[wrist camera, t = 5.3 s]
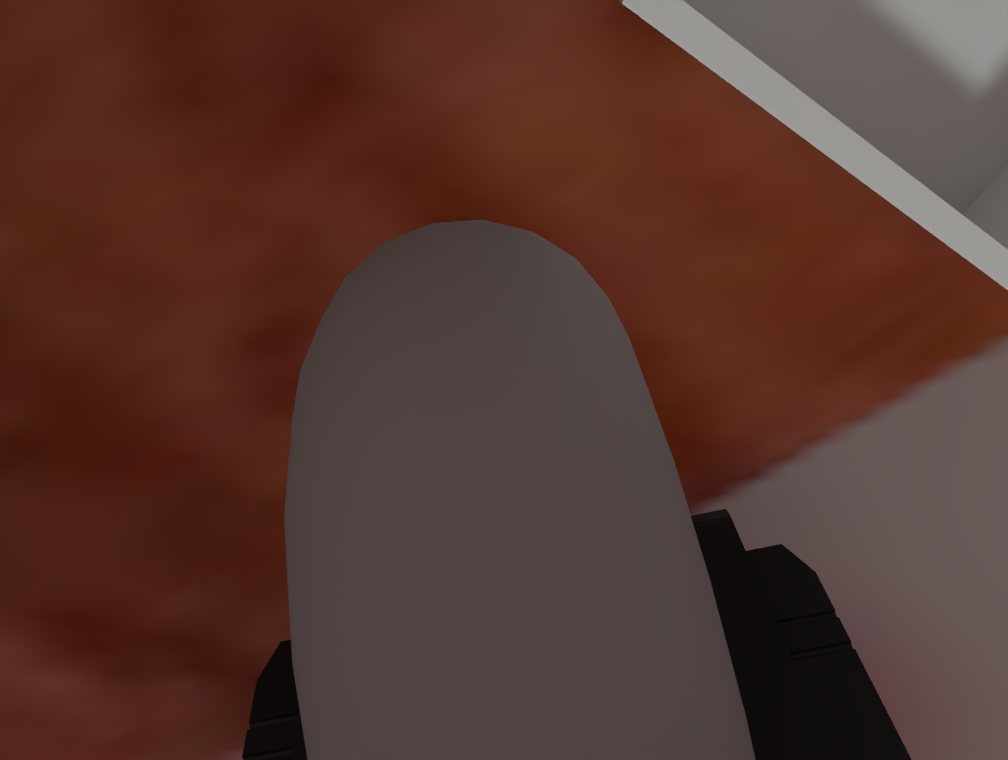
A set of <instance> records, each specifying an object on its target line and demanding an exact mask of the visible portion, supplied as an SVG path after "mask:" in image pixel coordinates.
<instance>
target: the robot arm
mask: <svg viewBox="0 0 1008 760" xmlns="http://www.w3.org/2000/svg"><path fill="white" fill-rule="evenodd" d="M691 519H692V522H693V525H694V529H695V532H696V535H697V539H698V542H699V545H700V548H701V552H702V555H703V558H704V561H705V565H706V568H707V571H708V575H709V578H710V581H711V585H712V589H713V593H714V597H715V600H716V604H717V608H718V612H719V616H720V619H721V623H722V627H723V631H724V635H725V638H726V642H727V646H728V650H729V654H730V657H731V661H732V665H733V669H734V673H735V676H736V680H737V684H738V688H739V692H740V695H741V699H742V703H743V707H744V711H745V714H746V719H747V723H748V728H749V732H750V737H751V741H752V746H753V751H754V755H755V760H911V758H910V756H909V754H908V752H907V750H906V748H905V746H904V744H903V742H902V740H901V738H900V736H899V735H898V733H897V730H896V729H895V727H894V725H893V723H892V721H891V719H890V717H889V715H888V713H887V711H886V709H885V707H884V705H883V703H882V701H881V699H880V697H879V695H878V693H877V691H876V689H875V687H874V686H873V683H872V682H871V680H870V678H869V676H868V674H867V672H866V670H865V668H864V666H863V664H862V662H861V660H860V658H859V656H858V654H857V652H856V650H855V649H853V648H852V645H851V640H850V638H849V637H848V635H847V633H846V631H845V629H844V627H843V625H842V623H841V621H840V619H839V618H838V617H837V616H836V614H835V609H834V607H833V605H832V603H831V601H830V599H829V597H828V595H827V594H826V591H825V590H824V588H823V586H822V584H821V582H820V580H819V578H818V576H817V574H816V572H814V571H813V570H812V569H811V568H810V567H809V566H807V565H806V564H805V563H804V562H803V561H801V560H800V559H799V558H798V557H796V556H795V555H794V554H793V553H792V552H790V551H789V550H788V549H787V548H786V547H784V546H783V545H782V544H780V545H775V546H769V547H765V548H759V549H754V550H749V551H745V549H744V546H743V544H742V542H741V540H740V537H739V535H738V533H737V530H736V528H735V526H734V523H733V521H732V519H731V517H730V515H729V513H728V511H727V510H725V509H723V510H718V511H713V512H708V513H703V514H698V515H693V516H691ZM249 723H250V730H247V734H246V740H245V745H244V750H243V755H242V757H243V760H307V753H306V747H305V741H304V734H303V728H302V722H301V715H300V709H299V703H298V696H297V690H296V683H295V677H294V671H293V664H292V649H291V640H287V641H282V642H280V644H279V646H278V647H277V649H276V650H275V652H274V654H273V655H272V657H271V659H270V660H269V662H268V663H267V665H266V667H265V668H264V670H263V672H262V673H261V675H260V676H259V678H258V680H257V683H256V688H255V693H254V698H253V703H252V709H251V714H250V719H249Z"/></svg>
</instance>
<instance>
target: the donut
mask: <svg viewBox="0 0 1008 760" xmlns="http://www.w3.org/2000/svg"><path fill="white" fill-rule="evenodd" d="M284 520H285V539H286V557H287V575H288V594H289V612H290V631H291V649H292V664H293V671H294V677H295V683H296V690H297V696H298V703H299V709H300V715H301V722H302V728H303V734H304V741H305V747H306V753H307V760H755V755H754V751H753V746H752V741H751V737H750V732H749V728H748V723H747V719H746V714H745V711H744V707H743V703H742V699H741V695H740V692H739V688H738V684H737V680H736V676H735V673H734V669H733V665H732V661H731V657H730V654H729V650H728V646H727V642H726V638H725V635H724V631H723V627H722V623H721V619H720V616H719V612H718V608H717V604H716V600H715V597H714V593H713V589H712V585H711V581H710V578H709V575H708V571H707V568H706V565H705V561H704V558H703V555H702V552H701V548H700V545H699V542H698V539H697V535H696V532H695V529H694V525H693V522H692V519H691V516H690V512H689V509H688V506H687V502H686V499H685V496H684V493H683V489H682V486H681V483H680V479H679V476H678V473H677V470H676V466H675V463H674V460H673V457H672V455H671V452H670V449H669V446H668V444H667V441H666V438H665V435H664V433H663V430H662V427H661V424H660V422H659V419H658V416H657V413H656V411H655V408H654V405H653V402H652V400H651V397H650V394H649V391H648V389H647V386H646V383H645V380H644V378H643V375H642V372H641V369H640V367H639V364H638V361H637V359H636V356H635V353H634V350H633V348H632V345H631V342H630V339H629V337H628V335H627V333H626V331H625V329H624V327H623V325H622V323H621V322H620V320H619V318H618V316H617V314H616V312H615V310H614V308H613V306H612V304H611V302H610V300H609V298H608V297H607V295H606V294H605V293H604V292H603V291H602V289H601V288H600V287H599V286H598V285H597V283H596V282H595V281H594V280H593V279H592V277H591V276H590V275H589V274H588V273H587V271H586V270H585V269H584V268H583V266H582V265H581V264H580V263H579V262H578V260H577V259H576V258H574V257H572V256H571V255H569V254H568V253H566V252H564V251H563V250H561V249H560V248H558V247H556V246H555V245H553V244H552V243H550V242H548V241H547V240H545V239H544V238H542V237H540V236H539V235H537V234H536V233H534V232H531V231H527V230H523V229H519V228H515V227H511V226H507V225H503V224H499V223H495V222H491V221H486V220H471V221H458V222H445V223H432V224H429V225H426V226H424V227H422V228H419V229H417V230H415V231H412V232H410V233H407V234H405V235H403V236H400V237H398V238H395V239H393V240H391V241H388V242H386V243H384V244H382V245H381V246H380V247H379V248H378V249H377V250H376V251H374V252H373V253H372V254H371V255H370V256H369V257H368V258H366V259H365V260H364V261H363V262H362V263H361V264H360V265H359V266H357V267H356V268H355V269H354V270H353V271H352V272H351V273H349V274H348V275H347V276H346V277H345V279H344V280H343V282H342V284H341V286H340V287H339V289H338V291H337V293H336V294H335V296H334V298H333V300H332V301H331V303H330V305H329V306H328V308H327V310H326V312H325V313H324V315H323V317H322V319H321V321H320V323H319V325H318V328H317V330H316V333H315V335H314V338H313V340H312V343H311V345H310V348H309V350H308V353H307V355H306V357H305V360H304V362H303V365H302V367H301V370H300V376H299V382H298V388H297V394H296V400H295V406H294V412H293V418H292V430H291V442H290V454H289V466H288V478H287V490H286V502H285V514H284Z"/></svg>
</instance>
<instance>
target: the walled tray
mask: <svg viewBox="0 0 1008 760" xmlns="http://www.w3.org/2000/svg"><path fill="white" fill-rule="evenodd" d="M619 1H620V2H621V3H622V4H624V5H625V6H626V7H628V8H629V9H630V10H632V11H633V12H634V13H636V14H637V15H638V16H640V17H641V18H642V19H644V20H645V21H646V22H648V23H649V24H650V25H652V26H653V27H654V28H656V29H657V30H658V31H660V32H661V33H663V34H664V35H665V36H667V37H668V38H669V39H671V40H672V41H673V42H675V43H676V44H677V45H679V46H680V47H681V48H683V49H684V50H685V51H687V52H688V53H689V54H691V55H692V56H693V57H695V58H696V59H698V60H699V61H700V62H702V63H703V64H704V65H706V66H707V67H708V68H710V69H711V70H712V71H714V72H715V73H716V74H718V75H719V76H720V77H722V78H723V79H724V80H726V81H727V82H728V83H730V84H731V85H733V86H734V87H735V88H737V89H738V90H739V91H741V92H742V93H743V94H745V95H746V96H747V97H749V98H750V99H751V100H753V101H754V102H755V103H757V104H758V105H759V106H761V107H762V108H763V109H765V110H766V111H768V112H769V113H770V114H772V115H773V116H774V117H776V118H777V119H778V120H780V121H781V122H782V123H784V124H785V125H786V126H788V127H789V128H790V129H792V130H793V131H794V132H796V133H797V134H798V135H800V136H801V137H802V138H804V139H805V140H807V141H808V142H809V143H811V144H812V145H813V146H815V147H816V148H817V149H819V150H820V151H821V152H823V153H824V154H825V155H827V156H828V157H829V158H831V159H832V160H833V161H835V162H836V163H837V164H839V165H840V166H842V167H843V168H844V169H846V170H847V171H848V172H850V173H851V174H852V175H854V176H855V177H856V178H858V179H859V180H860V181H862V182H863V183H864V184H866V185H867V186H868V187H870V188H871V189H872V190H874V191H875V192H877V193H878V194H879V195H881V196H882V197H883V198H885V199H886V200H887V201H889V202H890V203H891V204H893V205H894V206H895V207H897V208H898V209H899V210H901V211H902V212H903V213H905V214H906V215H907V216H909V217H910V218H911V219H913V220H914V221H916V222H917V223H918V224H920V225H921V226H922V227H924V228H925V229H926V230H928V231H929V232H930V233H932V234H933V235H934V236H936V237H937V238H938V239H940V240H941V241H942V242H944V243H945V244H946V245H948V246H949V247H951V248H952V249H953V250H955V251H956V252H957V253H959V254H960V255H961V256H963V257H964V258H965V259H967V260H968V261H969V262H971V263H972V264H973V265H975V266H976V267H977V268H979V269H980V270H981V271H983V272H984V273H986V274H987V275H988V276H990V277H991V278H992V279H994V280H995V281H996V282H998V283H999V284H1000V285H1002V286H1003V287H1004V288H1006V289H1007V290H1008V0H619Z"/></svg>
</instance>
